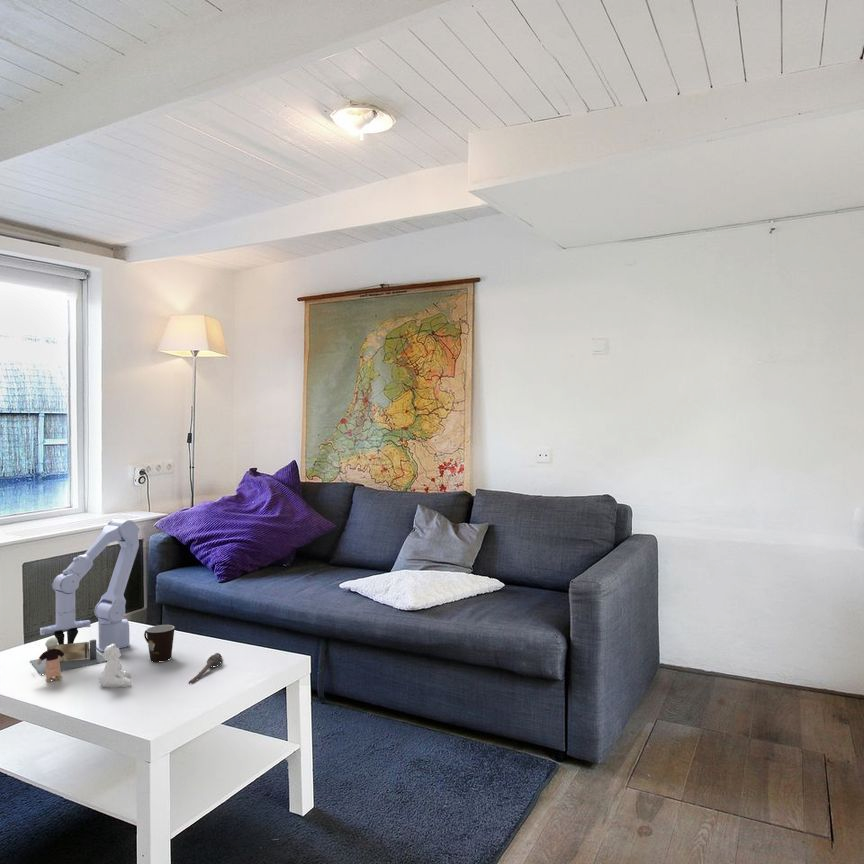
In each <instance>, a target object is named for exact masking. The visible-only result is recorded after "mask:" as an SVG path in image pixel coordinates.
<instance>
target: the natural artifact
mask: <svg viewBox="0 0 864 864" xmlns="http://www.w3.org/2000/svg"><path fill="white" fill-rule="evenodd" d="M222 661H223V656H222V655H221V654H220V653H219V652H216V653H214V654H212V655H210V656H209V657H208V659H207V660H206V665H204V667H203V668H202V670H200V671H199V672H198V674H196V675H195V676H194V677H193V678H191V679H190V680H189V681H188V684H189V685H191V684H190V683H192V684H193V682H194V681H195V682H197V681H198V680H200V679H201V678H200V677H202V676H203V675H204V674H205V673H206V672H207V671H208V670H209V669H210V668H214V667H213V666H217V665H218V666H220V665H221V664H220V662H221V663H222ZM211 666H212V667H211ZM218 666H217V667H218ZM199 678H200V679H199ZM197 679H198V680H197ZM195 682H194V683H195Z"/></svg>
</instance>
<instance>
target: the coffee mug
mask: <svg viewBox="0 0 864 864" xmlns="http://www.w3.org/2000/svg"><path fill="white" fill-rule="evenodd" d="M174 635H175V626H174V625H171V624H160V625H153V626H151V627H148V628H147V629H146V630H145V631H144V634H143V637H144V640H145V641H146V643H147V645H148V653H149V659H150V660H151V661H153V662H152V663H160V662H159V661H165V660H168V659H170V658H171V659H172V654H173V647H174V646H173V644H174ZM171 659H170V660H171ZM150 660H149V661H150ZM151 661H150V662H151ZM168 661H169V660H168ZM165 662H166V661H165Z"/></svg>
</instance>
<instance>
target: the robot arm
mask: <svg viewBox="0 0 864 864" xmlns="http://www.w3.org/2000/svg"><path fill="white" fill-rule="evenodd" d="M139 531H140V527H139V526H138V524H137V523H136V522H135V521H134V520H132V519H131V520H129V519H128V520H127V519H120V518H113V519H111V520H109V522H107V524H106V525H105V526H104V527H103V529H102V531H101V532H100V534H99V535H98V537H96V539H95V540H94V541H93V543H92V544H91V545H90V547H89V548H88V549H87V550H86V552H85V553H84V554H80V555H79V554H78V555H77V556H75V557H73V558H72V562H71V563H70V564H69V565H68V567H67V568H66V569H63V570H62V573H60V574H58V575H56V577H55V578H54V579H53V582H52V583H51V587H52V589H53V590H54V592H55V624H52V625H48V626H44V627H40V629H39V634H40V636H44V635H49V634H53V635H54V637H55V638H57V640H58V643H57V644H58V645H59V644H65V633H64V632H65V631H66V638H67V642H66V644H70V643H75V642H74V641H75V639H76V637H77V636H78V634H79V629H81V628H90V627H91V620H89V619H86V620H78V621H76V590H78V589H79V587H80V581H81V580H82V579H83V578H84V577H85V575H86V574H87V573H88V572H89V571H90V569H92V567H93V566H94V560H95V559H96V558H97V557H98V555H100V553H102V552H103V551H104V550H105V549H106V547H108V546H109V544H111V543H115V542H117V543H118V544H119V546H120V551H119V554H118V556H117V560H116V563H115V565H114V569H113V572H112V576H111V578H110V582H109V584H108V587H107V590H106V592H104V594H102V595H101V597H100V600H99V602H97V604H96V605H95V607H94V615H95V617H96V618H97V619H98V620H97V622H98V624H97V625H98V626H97V627H98V644H96V650H98V651H99V652H103V653H104V650H105V648H106V647H107V646H110V644H115V646H116V648H119V649H122V648H127V646H128V647H131V644H130V624H129V623H130V622H129V619H127V618H124V617H125V616H126V605H127V600H126V598H125V596H124V594H125V591H126V588H127V584H128V582H129V578H130V575H131V572H132V568H133V566H134V563H135V560H136V557H137V554H138V550H139V548H140V541H139V533H140V532H139Z"/></svg>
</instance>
